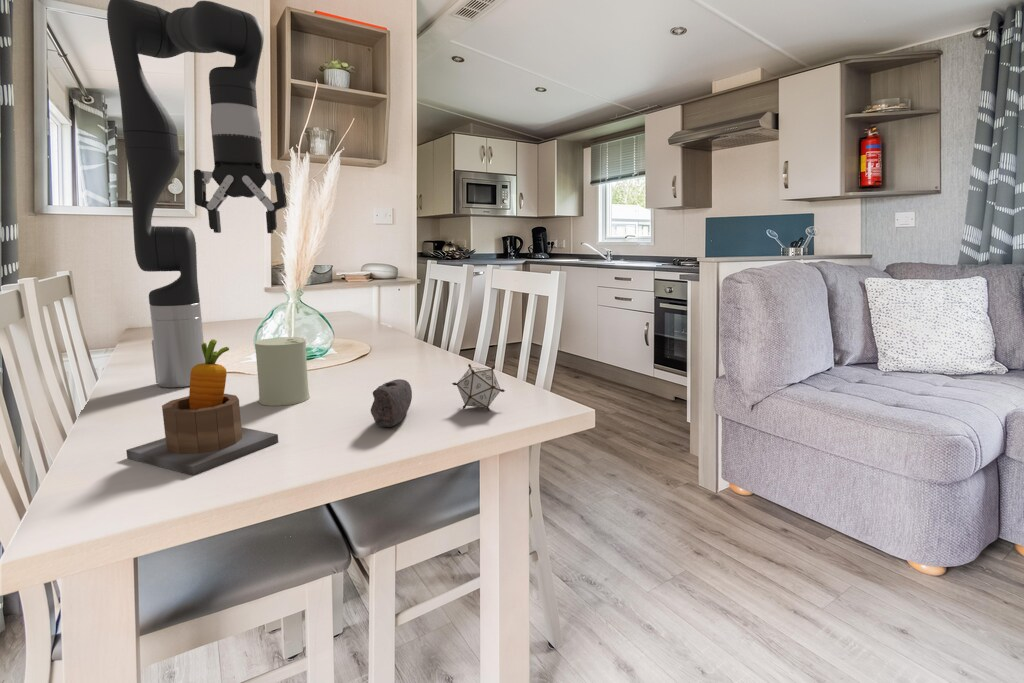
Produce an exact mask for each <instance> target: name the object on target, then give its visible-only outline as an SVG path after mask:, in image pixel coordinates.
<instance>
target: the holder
mask: <svg viewBox="0 0 1024 683" xmlns="http://www.w3.org/2000/svg"><path fill="white" fill-rule="evenodd" d="M240 409H241V408H240V399H239V397H238V396H237V395H236V394H229V393H224V397H223V401H222V404H221V405H218V406H214V407H209V408H202V409H190V402H189V395H188V396H184V397H181V398H176V399H172V400H169V401H168V402H166V403H164V404H162V405H161V410H162V417H163V427H164V428H163V429H164V438H159V439H156V440H153V441H150V442H147V443H144V444H140V445H138V446H133V447H132V448H128V449H126V457H127V459H129V460H134V461H137V462H140V463H143V464H144V463H146V464H148V465H152V466H157V467H160V468H164V469H168V470H172V471H175V472H180V473H184V474H187V475H189V476H190V475H191V476H194V475H195V476H196V475H198V474H200V473H203V472H206V471H209V470H210V469H213V468H215V467H218V466H220V465H223V464H226V463H228V462H231V461H233V460H235V459H238V458H242V457H243V456H246V455H249V454H251V453H254V452H256V451H259V450H261V449H264V448H266V447H269V446H271V445H274V444H276V443H279V434H277V433H273V432H267V431H264V430H263V431H262V430H259V429H257V430H256V429H252V428H248V427H242V421H241V420H242V419H241V410H240Z"/></svg>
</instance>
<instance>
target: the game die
mask: <svg viewBox="0 0 1024 683" xmlns="http://www.w3.org/2000/svg"><path fill="white" fill-rule="evenodd" d="M495 369H496V365H492V367H491V368H485V367H472V364H470V363H468V369H467V371H466V372H465V373H464V375H463V376H462V377H461V378H460V379H459V380H458V381H457V383H456V382H452V383H451V384H452V385H453V386H457V389H458V391H459V394H460V396H461V399H462V400H463V403H464V405H463V406H462V410H465V409H466V408H467V407H477V408H485V409H486V411H488V412H491V411H490V410H491V409H490V407H489V406H490V405H491V404H492V403H493V401H494V400H495V399H496V398H497V397H498V395H499V394H500V392H502V393H504V392H506V390H505V389H504V388H501V387H500V384H499V382H498V379H497V376H496V375H495V372H494V370H495Z"/></svg>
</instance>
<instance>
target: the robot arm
mask: <svg viewBox="0 0 1024 683" xmlns="http://www.w3.org/2000/svg"><path fill="white" fill-rule="evenodd" d="M106 11H107V12H106V13H107V14H106V19H107V20H106V21H107V22H106V23H107V31H108V35H109V41H110V47H111V52H112V56H113V62H114V63H113V64H114V67H115V72H116V77H117V78H116V79H117V83H118V91H119V99H120V107H121V109H120V110H121V120H122V132H123V133H122V134H123V142H124V148H125V149H124V150H125V157H126V163H127V171H128V177H129V183H130V184H129V185H130V190H131V191H130V192H131V206H132V208H131V209H132V223H133V224H132V225H133V226H132V227H133V242H134V246H133V247H134V254H135V258H136V262H137V266H138V267H139V269H140V270H141V271H143V272H179V273H180V275H179V277H178V278H177V279H176V280H174V281H172V282H171V283H169V284H167V285H164V286H160V287H158V288H155V289H153V290H150V292H149V293H148V303H149V310H150V311H149V312H150V320H151V328H152V330H151V331H152V338H153V339H152V340H151V346H152V348H151V349H152V357H153V365H154V366H153V367H154V374H155V377H154V378H155V383H156V384H157V385H158V386H159V387H161V388H183V387H190V375H191V370H192V368H193V367H194V366H195V365H197V364H200V363H205V357H204V354H203V351H202V346H201V344H203V343H205V341H204V329H203V320H202V312H201V311H202V310H201V309H202V308H201V303H200V301H201V300H200V299H201V298H200V291H199V284H198V282H199V281H198V265H197V264H198V262H197V259H198V258H197V243H196V238H195V234H194V232H193V230H192V229H191V228H190V227H187V226H167V225H166V226H161V225H158V226H157V225H155V226H154V225H152V220H153V219H152V218H153V214H154V211H155V207H156V206H157V203H158V200H159V198H160V196H161V194H162V193H163V191H164V189H165V188H166V187H167V185H168V184H169V182H170V181H171V179H173V178H172V177H173V176H174V175H175V172H177V169H178V167H179V164H180V148H179V138H178V130H177V129H178V128H177V126H176V124H175V122H174V120H173V119H172V117H171V115H170V114H169V112H168V111H167V108H166V107H165V106H164V105H163V103H162V102H161V100H160V98H158V96H157V95H156V94H155V92H154V90H153V89H152V88H151V86H150V84H149V82H148V81H147V78H146V76H145V74H144V70H143V68H142V65H141V61H140V57H139V55H143V56H148V57H151V58H156V59H170V58H173V57H177V56H180V55H181V54H184V53H194V54H195V53H196V54H213V53H218V52H219V53H221V54H222V53H223V54H227V55H230V56H233V57H234V58H235V59H234V60H235V61H234V65H233V66H217V67H213V68H212V69H210V71H209V73H208V81H209V82H208V83H209V84H208V85H209V95H210V98H209V99H210V110H211V111H210V126H211V128H210V129H211V139H212V141H211V142H212V152H213V163H214V166H213V171H208V170H207V171H206V170H201V169H198V168H197V169H195V170H194V171H193V189H194V190H193V191H194V193H193V194H194V204H195V205H196V206H198V207H200V208H204V209H206V211H207V214H208V226H209V228H210V230H213V233H214V234H215V233H216V234H221V233H222V229H221V228H222V227H221V224H222V223H221V216H220V215H221V214H220V213H221V212H220V211H219V210H218V209H219V208H220V207H221V205H222V204H223V202H224V201H225V200H227V199H228V197H231V198H242V197H244V198H247V199H248V198H249V199H250V198H251V199H253V198H254V197H256V198H257V199H258V200H259V201H260V202H261V204H262V205H263V206H264V208H266V211H265V217H266V218H265V219H266V221H265V222H266V231H267V234H274V231H276V230H277V228H278V226H277V225H278V222H277V211H279V210H281V209H285V208H287V206H288V205H287V196H286V187H285V181H284V176H283V174H282V172H279V171H276V172H272V173H271V172H270V173H268V172H267V173H266V172H265V170H264V163H263V162H264V161H263V150H262V148H263V147H262V131H261V123H260V118H259V113H258V102H257V101H258V100H257V99H258V98H257V90H256V89H257V88H256V85H257V77H258V71H259V65H260V61H261V56H262V52H263V47H264V43H265V42H264V38H265V37H264V31H263V28H262V26H261V24H260V22H259V20H258V19H257V17H255V16H254V15H253V14H251V13H249V12H246V11H245V10H244V11H243V10H240V9H238V8H234V7H230V6H227V5H224V4H222V3H218V2H214V1H210V0H199V1H197V2H196V3H195V4H194V5H193V6H187V7H179V8H177V9H175V10H173V11H171V12H169V11H168V10H165V9H163V8H161V7H160V6H157V5H154V4H149V3H146V2H143V1H140V0H109V1H108V5H107V10H106ZM211 179H213V181H215V183H216V184H217V185H218V186H219V187H218V188H217V189H216V190H215V191H214V193H213V195H212V197H211V199H209V201H208V200H207V185H208V184H210V182H211ZM267 180H268V181H269V182H270V184H271V185H272V186H273V187H275V188H274V189H275V193H276V201H275V202H273V201H272V200H271V199H270V198H269V196H268V194H266V193H265V192H264V190H263V189H262V188H263V186H264V185H265V184H266V182H267Z"/></svg>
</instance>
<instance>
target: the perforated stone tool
mask: <svg viewBox="0 0 1024 683" xmlns="http://www.w3.org/2000/svg"><path fill="white" fill-rule="evenodd" d="M372 396H373V402H372V405H371V408H370V414H371V416H372V418H373V420H374V423H375V424H376V425H377V426H380V427H381V428H382V427H387V428H392V427H394V426H396V425H398V424H399V423H400V422H402V420H403V419H404V418H405V416H406V414H407V413H408V411H409V409H410V406H411V403H412V399H413V390H412V386H411V384H410V382H409V381H407V380H405V379H400V378H399V379H393V380H390V381H388V382H384V383H383V384H381V385H379V386H378V387H377V388H376V389H375V390H373V391H372Z"/></svg>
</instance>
